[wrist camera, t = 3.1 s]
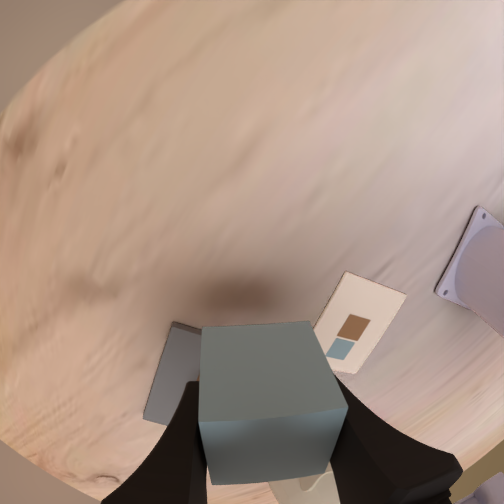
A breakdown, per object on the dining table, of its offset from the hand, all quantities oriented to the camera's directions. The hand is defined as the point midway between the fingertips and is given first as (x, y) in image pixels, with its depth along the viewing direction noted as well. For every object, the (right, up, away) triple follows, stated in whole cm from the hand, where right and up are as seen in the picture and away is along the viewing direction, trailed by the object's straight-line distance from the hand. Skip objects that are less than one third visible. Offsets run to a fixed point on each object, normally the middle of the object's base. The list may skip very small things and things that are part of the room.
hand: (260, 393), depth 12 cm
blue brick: (0, +1, +2) cm, 2 cm away
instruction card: (+7, 0, +10) cm, 13 cm away
